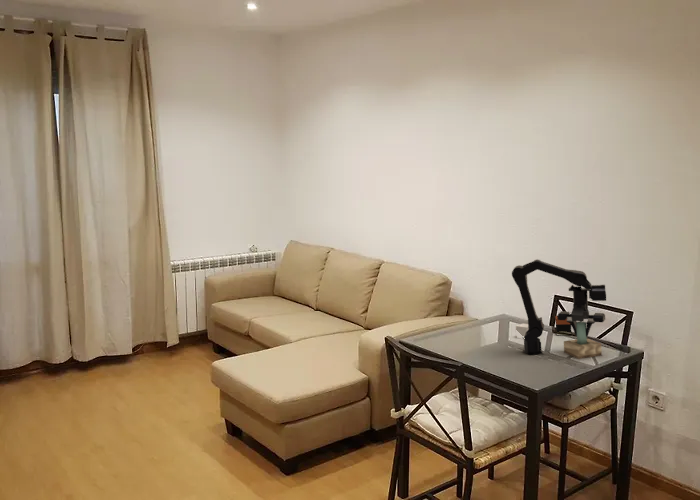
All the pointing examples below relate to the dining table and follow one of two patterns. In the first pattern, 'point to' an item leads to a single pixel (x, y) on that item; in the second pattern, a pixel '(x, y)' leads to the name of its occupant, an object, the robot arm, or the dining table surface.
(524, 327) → the light grey cone
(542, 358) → the dining table surface
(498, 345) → the dining table surface
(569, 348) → the bore block
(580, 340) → the peg
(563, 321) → the battery
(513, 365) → the dining table surface
